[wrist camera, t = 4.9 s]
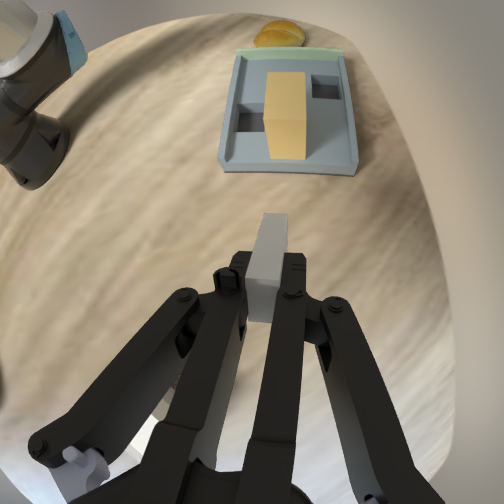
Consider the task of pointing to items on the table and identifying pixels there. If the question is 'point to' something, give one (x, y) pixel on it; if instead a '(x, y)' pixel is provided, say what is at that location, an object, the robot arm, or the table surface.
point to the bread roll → (280, 35)
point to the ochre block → (285, 115)
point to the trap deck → (317, 113)
